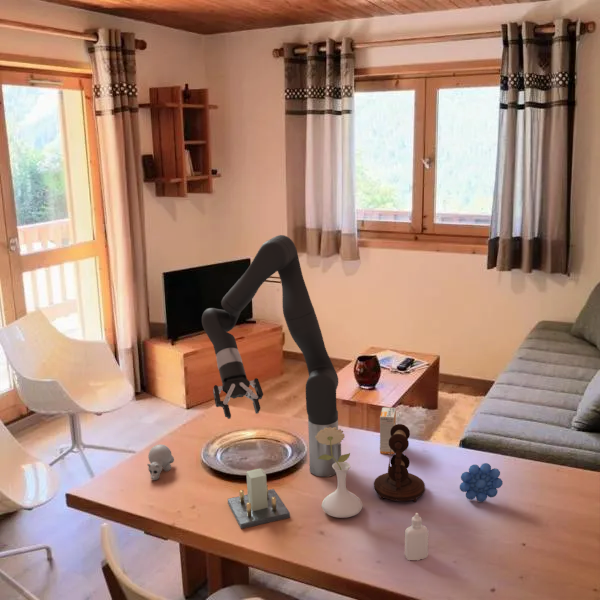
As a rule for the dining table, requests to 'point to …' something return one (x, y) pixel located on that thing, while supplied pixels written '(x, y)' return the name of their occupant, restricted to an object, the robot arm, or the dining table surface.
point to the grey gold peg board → (262, 516)
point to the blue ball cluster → (480, 482)
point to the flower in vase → (341, 499)
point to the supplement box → (386, 428)
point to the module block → (257, 489)
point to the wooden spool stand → (399, 471)
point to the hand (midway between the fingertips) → (243, 415)
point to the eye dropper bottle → (416, 540)
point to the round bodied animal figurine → (159, 460)
